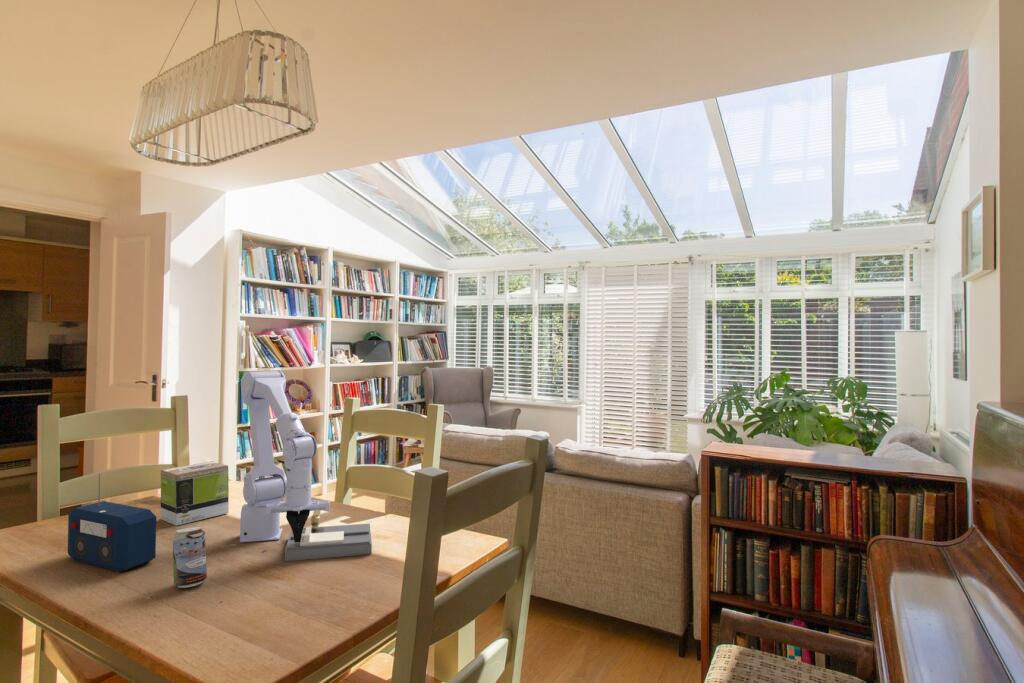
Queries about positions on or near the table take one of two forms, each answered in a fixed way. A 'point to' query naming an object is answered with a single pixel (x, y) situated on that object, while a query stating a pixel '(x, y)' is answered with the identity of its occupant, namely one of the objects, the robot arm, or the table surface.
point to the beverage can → (189, 557)
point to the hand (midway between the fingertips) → (297, 541)
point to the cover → (321, 538)
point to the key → (315, 520)
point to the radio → (111, 535)
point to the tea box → (194, 492)
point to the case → (354, 544)
